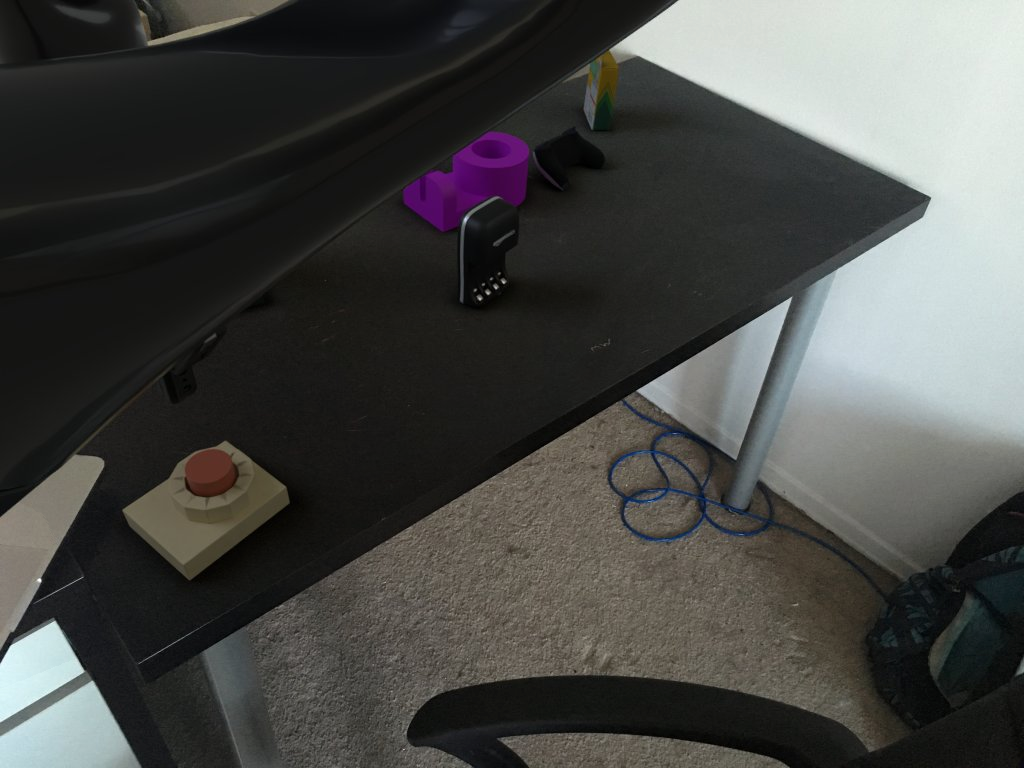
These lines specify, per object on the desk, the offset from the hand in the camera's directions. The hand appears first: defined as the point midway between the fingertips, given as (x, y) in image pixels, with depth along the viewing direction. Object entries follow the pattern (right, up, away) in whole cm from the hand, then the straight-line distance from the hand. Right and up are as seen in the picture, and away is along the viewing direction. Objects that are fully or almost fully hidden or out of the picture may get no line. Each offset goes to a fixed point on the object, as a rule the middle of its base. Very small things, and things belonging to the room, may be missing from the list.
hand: (179, 393), depth 57 cm
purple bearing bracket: (+19, +25, +48) cm, 57 cm away
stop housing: (-1, -10, +9) cm, 14 cm away
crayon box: (+38, +42, +68) cm, 88 cm away
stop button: (0, -7, +7) cm, 10 cm away
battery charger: (+21, +11, +33) cm, 41 cm away
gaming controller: (+32, +31, +55) cm, 71 cm away
